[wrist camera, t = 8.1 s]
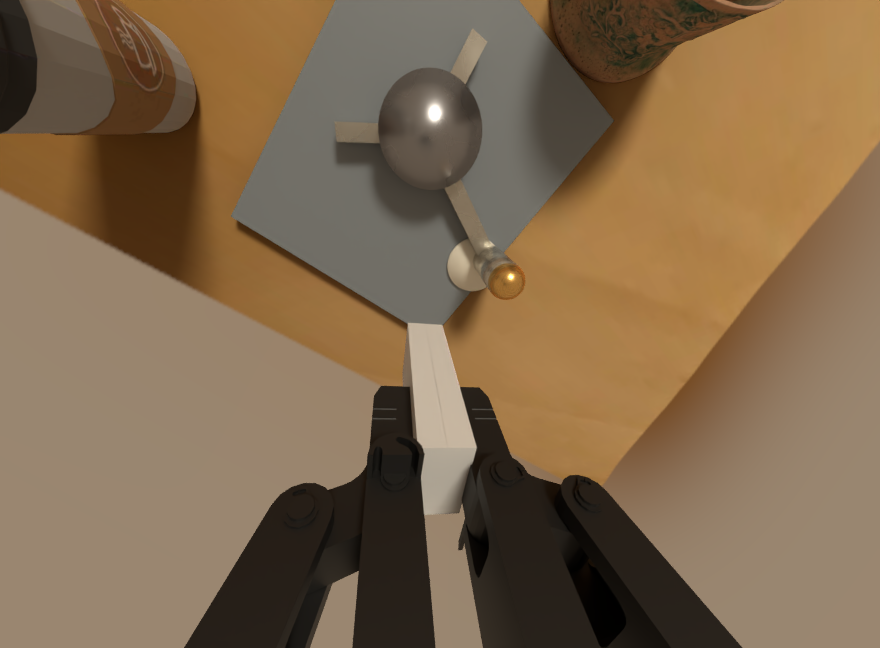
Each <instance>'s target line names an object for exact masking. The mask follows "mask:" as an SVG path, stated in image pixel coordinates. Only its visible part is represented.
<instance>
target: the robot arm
mask: <svg viewBox="0 0 880 648" xmlns="http://www.w3.org/2000/svg"><path fill="white" fill-rule="evenodd" d="M461 504H463V508H464V513H465V521H464V524H463V528H462V531H461V535H460V538H459V548H458V549H459V550H462V549H463V546H464V543H465V549H466V554H467V560H468V565H469V571H470V577H471V583H472V587H473V594H474V599H475V605H476V610H477V616H478V621H479V628H480V633H481V639H482V644H483V648H742V647H741V646H740V645H739V643H738V642H737V641H736V640H735V639H734V638H733V636H732V635H731V634H730V633H729V632H728V631H727V630H726V628H725V627H724V626H723V625H722V624H721V623H720V621H719V620H718V619H717V618H716V617H715V616H714V615H713V613H712V612H711V611H710V610H709V609H708V608H707V606H706V605H705V604H704V603H703V602H702V601H701V600H700V598H699V597H698V596H697V595H696V594H695V593H694V591H693V590H692V589H691V588H690V587H689V586H688V585H687V583H686V582H685V581H684V580H683V579H682V578H681V577H680V575H679V574H678V573H677V572H676V571H675V570H674V568H673V567H672V566H671V565H670V564H669V563H668V561H667V560H666V559H665V558H664V557H663V556H662V555H661V553H660V552H659V551H658V550H657V549H656V548H655V547H654V545H653V544H652V543H651V542H650V541H649V540H648V538H647V537H646V536H645V535H644V534H643V533H642V531H641V530H640V529H639V528H638V527H637V526H636V525H635V523H634V522H633V521H632V520H631V519H630V518H629V517H628V516H627V514H626V513H625V512H624V511H623V510H622V509H621V507H620V506H619V505H618V504H617V503H616V502H615V500H614V499H613V498H612V497H611V496H610V495H609V493H607V491H606V490H605V489H604V488H602V487H601V486H600V485H599V484H598V483H596V482H595V481H593V480H591V479H589V478H587V477H584V476H580V475H570V476H568V477H567V478H565V479H564V480H563V482H562V484H561V485H560V484H557V483H553V482H549V481H546V480H543V479H539V478H536V477H534V476H531V475H530V474H528V473H527V471H526V470H525V468H524V467H523V466H522V465H521V464H520V463H519V462H518V461H517V460H515V459H513V458H512V456H511V455H510V452H509V449H508V447H507V444H506V442H505V439H504V436H503V434H502V431H501V429H500V426H499V424H498V421H497V420H496V416H495V413H494V411H493V408H492V405H491V403H490V400H489V398H488V396H487V395H486V394H485V393H484V392H483V391H482V390H481V389H480V388H474V387H460V386H459V383H458V379H457V376H456V372H455V368H454V365H453V361H452V358H451V354H450V351H449V347H448V343H447V340H446V336H445V333H444V329H443V326H442V325H437V324H421V323H408V326H407V336H406V346H405V356H404V365H403V387H401V386H381V387H380V388H379V390H378V391H377V392H376V394H375V395H374V403H373V415H372V427H371V439H370V449H369V452H368V457H367V466H366V467H365V469H364V471H363V472H362V473H361V474H360V475H359V476H358V477H357V478H355V479H354V480H353V481H351V482H349V483H347V484H344V485H342V486H339V487H336V488H333V489H330V490H327V489H326V488H325V487H323V486H321V485H318V484H316V483H303V484H300V485H297V486H294V487H291V488H289V489H288V490H286V491H285V492H283V493H282V494H280V496H279V497H278V498H277V499H276V500H275V501H274V503H273V504H272V505H271V507H270V508H269V510H268V512H267V513H266V515H265V517H264V518H263V520H262V521H261V523H260V525H259V526H258V528H257V530H256V531H255V533H254V534H253V536H252V538H251V540H250V541H249V543H248V544H247V546H246V547H245V549H244V551H243V552H242V554H241V556H240V557H239V559H238V561H237V562H236V564H235V565H234V567H233V569H232V570H231V572H230V574H229V576H228V577H227V579H226V580H225V582H224V583H223V585H222V587H221V588H220V590H219V592H218V593H217V595H216V597H215V598H214V600H213V602H212V603H211V605H210V606H209V608H208V610H207V611H206V613H205V614H204V616H203V618H202V619H201V621H200V623H199V625H198V626H197V628H196V629H195V631H194V632H193V634H192V636H191V637H190V639H189V641H188V642H187V644H186V646H185V647H184V648H310V645H311V643H312V640H313V637H314V634H315V631H316V628H317V625H318V623H319V620H320V617H321V614H322V611H323V609H324V606H325V602H326V600H327V597H328V594H329V591H330V588H331V586H332V583H333V582H336V581H338V580H340V579H342V578H344V577H346V576H348V575H351V574H353V573H355V572H357V571H359V575H358V587H357V599H356V611H355V623H354V636H353V648H435V638H434V626H433V614H432V602H431V590H430V579H429V567H428V555H427V543H426V531H425V519H424V515H429V514H450V513H459V512H460V508H461Z"/></svg>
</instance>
